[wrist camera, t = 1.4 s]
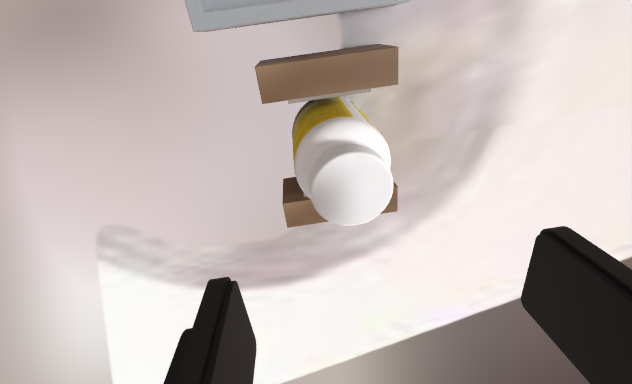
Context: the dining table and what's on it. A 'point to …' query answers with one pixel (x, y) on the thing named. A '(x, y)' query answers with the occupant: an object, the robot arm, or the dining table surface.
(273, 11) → the tray
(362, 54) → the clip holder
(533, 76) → the dining table surface
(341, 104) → the supplement bottle
